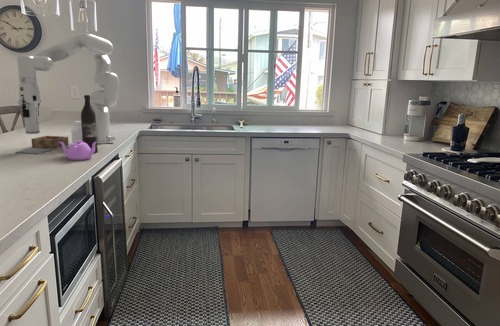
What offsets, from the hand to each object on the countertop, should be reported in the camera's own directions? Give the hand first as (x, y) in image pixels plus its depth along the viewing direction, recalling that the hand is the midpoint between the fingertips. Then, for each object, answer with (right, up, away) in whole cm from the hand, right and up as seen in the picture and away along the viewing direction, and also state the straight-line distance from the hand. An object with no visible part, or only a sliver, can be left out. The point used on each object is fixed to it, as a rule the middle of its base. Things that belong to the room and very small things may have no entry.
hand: (31, 116), depth 186 cm
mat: (-1, -18, +4) cm, 18 cm away
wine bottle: (+28, -19, +6) cm, 34 cm away
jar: (+19, -16, +18) cm, 30 cm away
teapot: (+29, -22, -8) cm, 37 cm away
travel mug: (0, -9, +2) cm, 9 cm away
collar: (0, -15, +19) cm, 24 cm away
